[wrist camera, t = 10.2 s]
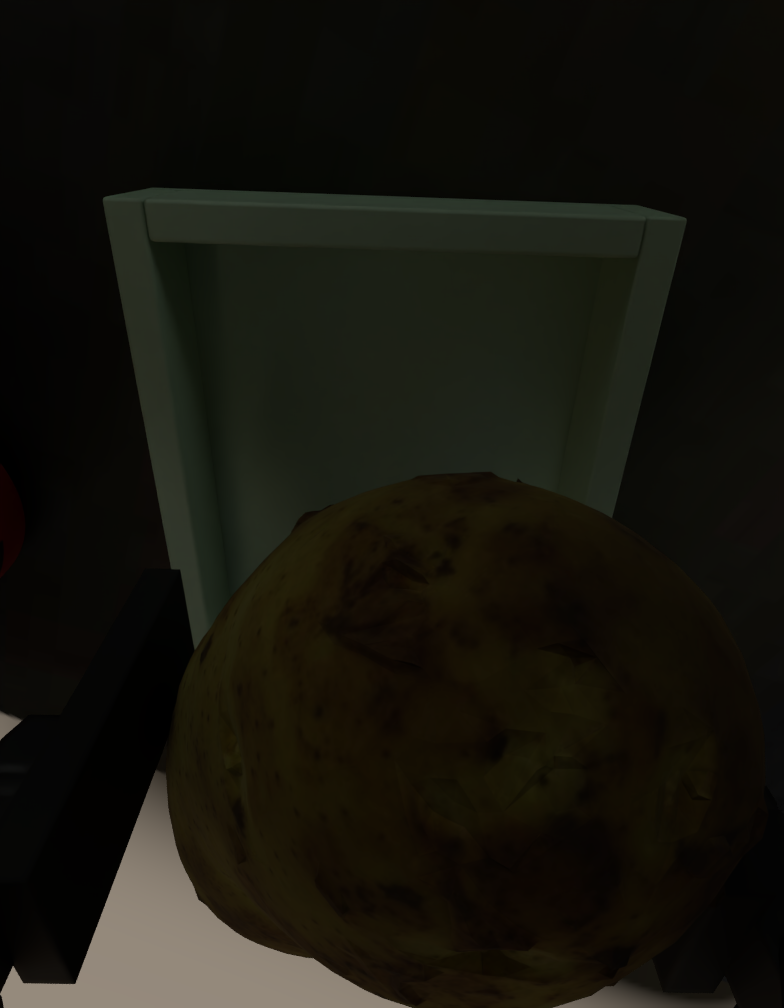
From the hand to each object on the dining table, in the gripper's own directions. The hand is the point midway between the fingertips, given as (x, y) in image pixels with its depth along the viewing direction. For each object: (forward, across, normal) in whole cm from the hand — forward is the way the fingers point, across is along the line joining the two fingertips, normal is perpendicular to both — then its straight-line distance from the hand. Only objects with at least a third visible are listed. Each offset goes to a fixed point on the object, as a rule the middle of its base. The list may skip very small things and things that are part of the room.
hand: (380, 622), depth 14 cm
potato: (0, 0, 0) cm, 1 cm away
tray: (+6, 0, 0) cm, 6 cm away
